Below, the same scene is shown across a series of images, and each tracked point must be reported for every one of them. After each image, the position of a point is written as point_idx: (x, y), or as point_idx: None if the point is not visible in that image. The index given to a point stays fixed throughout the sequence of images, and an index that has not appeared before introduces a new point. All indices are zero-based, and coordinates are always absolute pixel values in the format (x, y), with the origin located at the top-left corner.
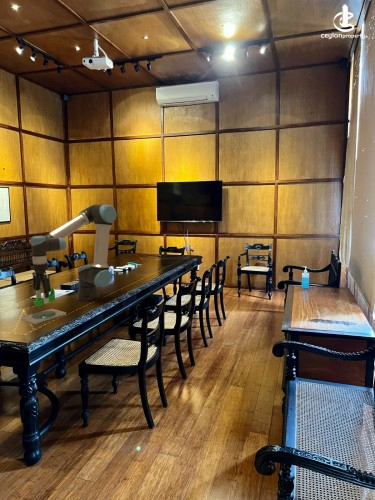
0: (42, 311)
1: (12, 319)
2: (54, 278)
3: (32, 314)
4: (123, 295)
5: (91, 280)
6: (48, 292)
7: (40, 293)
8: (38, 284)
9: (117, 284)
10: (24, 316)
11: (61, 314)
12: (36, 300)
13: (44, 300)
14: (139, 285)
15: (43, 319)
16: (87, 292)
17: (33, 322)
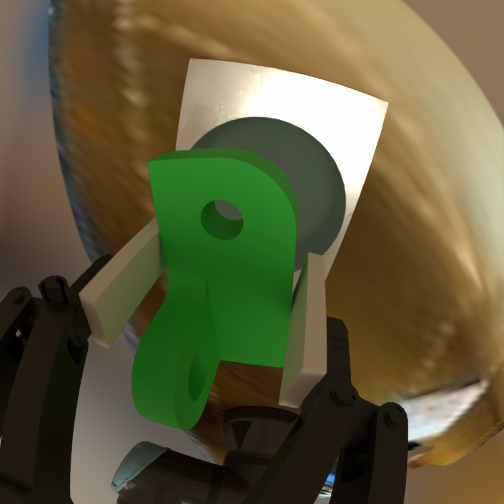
0: (328, 261)
1: (440, 95)
2: (455, 453)
3: (354, 186)
4: (185, 430)
5: (168, 473)
6: (142, 357)
7: (286, 358)
8: (258, 489)
9: None
10: (379, 129)
11: None
12: (266, 223)
13: (140, 232)
14: (218, 462)
15: (179, 127)
16: (240, 439)
17: (205, 60)
